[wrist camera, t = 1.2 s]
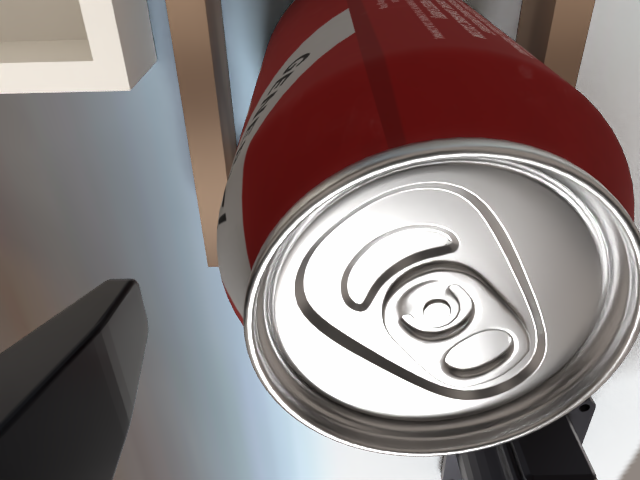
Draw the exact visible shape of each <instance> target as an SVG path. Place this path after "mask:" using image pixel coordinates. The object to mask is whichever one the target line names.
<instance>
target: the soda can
mask: <svg viewBox="0 0 640 480" xmlns="http://www.w3.org/2000/svg"><path fill="white" fill-rule="evenodd" d="M217 255H218V265H219V269H220V274H221V278H222V282H223V285H224V288H225V291H226V294H227V297H228V299H229V301H230V303H231V305H232V307H233V309H234V311H235V313H236V315H237V317H238V318H239V320H240V321H241V323H242V325H243V326H244V337H245V342H246V347H247V351H248V354H249V357H250V360H251V363H252V366H253V368H254V370H255V372H256V374H257V376H258V378H259V379H260V381H261V383H262V384H263V386H264V387H265V389H266V390H267V391H268V393H269V394H270V395H271V396H272V397H273V399H274V400H275V401H276V402H277V403H278V404H279V405H280V406H281V407H282V408H283V409H284V410H285V411H286V412H288V413H289V414H290V415H291V416H293V417H294V418H295V419H296V420H298V421H299V422H301V423H302V424H304V425H305V426H307V427H308V428H310V429H312V430H314V431H316V432H317V433H319V434H321V435H323V436H325V437H328V438H330V439H332V440H334V441H337V442H340V443H343V444H346V445H348V446H352V447H355V448H359V449H363V450H367V451H372V452H377V453H382V454H390V455H399V456H445V455H453V454H461V453H467V452H472V451H478V450H482V449H486V448H490V447H494V446H497V445H501V444H504V443H507V442H510V441H513V440H515V439H518V438H521V437H523V436H526V435H528V434H530V433H532V432H535V431H537V430H539V429H541V428H543V427H545V426H547V425H549V424H551V423H552V422H554V421H556V420H558V419H559V418H561V417H563V416H564V415H566V414H567V413H569V412H570V411H572V410H573V409H575V408H576V407H577V406H579V405H580V404H581V403H583V402H584V401H585V400H586V399H588V398H589V397H590V396H591V395H592V394H594V393H595V392H596V391H597V390H598V389H599V388H600V387H601V386H602V385H603V384H604V383H605V382H606V381H607V380H608V379H609V378H610V377H611V375H612V374H613V373H614V372H615V371H616V370H617V368H618V367H619V366H620V364H621V363H622V362H623V360H624V359H625V357H626V356H627V354H628V353H629V351H630V349H631V348H632V346H633V344H634V342H635V341H636V338H637V336H638V334H639V332H640V233H639V231H638V229H637V228H636V226H635V224H634V194H633V184H632V179H631V175H630V171H629V167H628V163H627V161H626V158H625V155H624V153H623V150H622V147H621V145H620V143H619V142H618V140H617V138H616V136H615V134H614V132H613V130H612V129H611V127H610V126H609V125H608V123H607V122H606V120H605V119H604V118H603V116H602V115H601V113H600V112H599V111H598V110H597V109H596V108H595V107H594V106H593V105H592V104H591V103H590V101H589V100H588V99H587V98H586V97H585V96H584V95H582V94H581V93H580V92H579V91H578V90H576V89H575V88H574V87H573V86H572V85H570V84H569V83H568V82H567V81H565V80H564V79H563V78H561V77H560V76H559V75H558V74H556V73H555V72H554V71H552V70H551V69H550V68H549V67H547V66H546V65H545V64H543V63H542V62H541V61H540V60H538V59H537V58H536V57H534V56H533V55H532V54H531V53H529V52H528V51H527V50H525V49H524V48H523V47H521V46H520V45H519V44H518V43H516V42H515V41H514V40H512V39H511V38H510V37H509V36H507V35H506V34H505V33H503V32H502V31H501V30H500V29H498V28H497V27H496V26H494V25H493V24H492V23H491V22H489V21H488V20H487V19H485V18H484V17H483V16H482V15H480V14H479V13H478V12H476V11H475V10H474V9H472V8H471V7H470V6H469V5H467V4H466V3H465V2H463V1H462V0H294V1H293V2H292V3H291V5H290V6H289V7H288V8H287V10H286V11H285V12H284V14H283V15H282V17H281V18H280V20H279V21H278V23H277V25H276V27H275V29H274V31H273V33H272V35H271V38H270V40H269V43H268V46H267V49H266V52H265V56H264V59H263V63H262V66H261V69H260V73H259V76H258V79H257V83H256V86H255V90H254V93H253V96H252V100H251V103H250V106H249V110H248V113H247V116H246V120H245V123H244V127H243V130H242V133H241V137H240V140H239V143H238V147H237V150H236V154H235V157H234V160H233V164H232V167H231V170H230V174H229V177H228V181H227V184H226V187H225V191H224V194H223V198H222V202H221V206H220V210H219V218H218V225H217Z"/></svg>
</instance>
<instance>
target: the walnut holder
mask: <svg viewBox="0 0 640 480" xmlns="http://www.w3.org/2000/svg"><path fill="white" fill-rule="evenodd" d="M165 1H166V7H167V13H168V20H169V26H170V32H171V38H172V44H173V51H174V57H175V63H176V69H177V76H178V82H179V88H180V94H181V100H182V107H183V113H184V119H185V125H186V132H187V138H188V144H189V150H190V157H191V163H192V169H193V175H194V181H195V188H196V194H197V200H198V206H199V213H200V219H201V225H202V231H203V237H204V244H205V250H206V256H207V262H208V267H219V265H218V255H217V225H218V218H219V210H220V206H221V202H222V198H223V194H224V191H225V187H226V184H227V181H228V177H229V174H230V170H231V167H232V164H233V160H234V157H235V154H236V150H237V144H236V135H235V126H234V117H233V108H232V99H231V90H230V80H229V71H228V62H227V53H226V44H225V35H224V26H223V17H222V8H221V0H165ZM594 4H595V0H523V1H522V7H521V13H520V19H519V25H518V31H517V38H516V43H518V44H519V45H520V46H521V47H523V48H524V49H525V50H527V51H528V52H529V53H531V54H532V55H533V56H534V57H536V58H537V59H538V60H540V61H541V62H542V63H543V64H545V65H546V66H547V67H549V68H550V69H551V70H552V71H554V72H555V73H556V74H558V75H559V76H560V77H561V78H563V79H564V80H565V81H567V82H568V83H569V84H570V85H572V86H573V87H574V88H575V86H576V82H577V77H578V73H579V69H580V64H581V60H582V56H583V51H584V47H585V43H586V38H587V34H588V30H589V25H590V21H591V17H592V12H593V8H594Z"/></svg>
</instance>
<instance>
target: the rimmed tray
mask: <svg viewBox="0 0 640 480" xmlns="http://www.w3.org/2000/svg"><path fill="white" fill-rule="evenodd" d="M156 62H157V57H156V51H155V45H154V40H153V34H152V29H151V23H150V17H149V12H148V6H147V1H146V0H0V94H5V93H48V92H90V91H130V90H131V89H132V88H133V87H134V86H135V85H136V84H137V83H138V82H139V80H140V79H141V78H142V77H143V76H144V75H145V74H146V73H147V72H148V70H149V69H150V68H151V67H152V66H153V65H154V64H155V63H156Z"/></svg>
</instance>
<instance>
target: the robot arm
mask: <svg viewBox="0 0 640 480" xmlns="http://www.w3.org/2000/svg"><path fill="white" fill-rule="evenodd" d="M148 331H149V325H148V318H147V314H146V310H145V306H144V302H143V298H142V294H141V290H140V287H139V284H138V283H137V281H136V280H134V279H109V280H107V281H105V282H103V283H102V284H101V285H99V286H98V287H96V288H95V289H93V290H92V291H90V292H89V293H88V294H86V295H85V296H83V297H82V298H80V299H79V300H77V301H76V302H75V303H73V304H72V305H70V306H69V307H67V308H66V309H64V310H63V311H61V312H60V313H59V314H57V315H56V316H54V317H53V318H51V319H50V320H48V321H47V322H46V323H44V324H43V325H41V326H40V327H38V328H37V329H35V330H34V331H33V332H31V333H30V334H28V335H27V336H25V337H24V338H22V339H21V340H20V341H18V342H17V343H15V344H14V345H12V346H11V347H9V348H8V349H7V350H5V351H4V352H2V353H1V354H0V480H113V477H114V474H115V471H116V468H117V464H118V461H119V458H120V455H121V452H122V449H123V446H124V443H125V440H126V437H127V433H128V430H129V426H130V423H131V418H132V414H133V409H134V404H135V399H136V394H137V389H138V384H139V379H140V374H141V369H142V364H143V359H144V354H145V349H146V344H147V339H148ZM595 407H596V405H595V403H594V401H593V399H592V397H591V396H590V397H589V398H588V399H586V400H585V401H584V402H583V403H581V404H580V405H579V406H577V407H576V408H575V409H573V410H572V411H570V412H569V413H567V414H566V415H564V416H563V417H561V418H559V419H558V420H556V421H554V422H552V423H551V424H549V425H547V426H545V427H543V428H541V429H539V430H537V431H535V432H532V433H530V434H528V435H526V436H523V437H521V438H518V439H515V440H513V441H510V442H507V443H504V444H501V445H497V446H494V447H490V448H486V449H482V450H478V451H472V452H467V453H461V454H453V455H445V456H444V459H443V465H442V471H441V480H597V478H596V474H595V472H594V470H593V468H592V466H591V464H590V461H589V459H588V457H587V455H586V453H585V451H584V449H583V447H582V443H583V440H584V438H585V435H586V432H587V429H588V427H589V424H590V421H591V419H592V416H593V413H594V410H595Z"/></svg>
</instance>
